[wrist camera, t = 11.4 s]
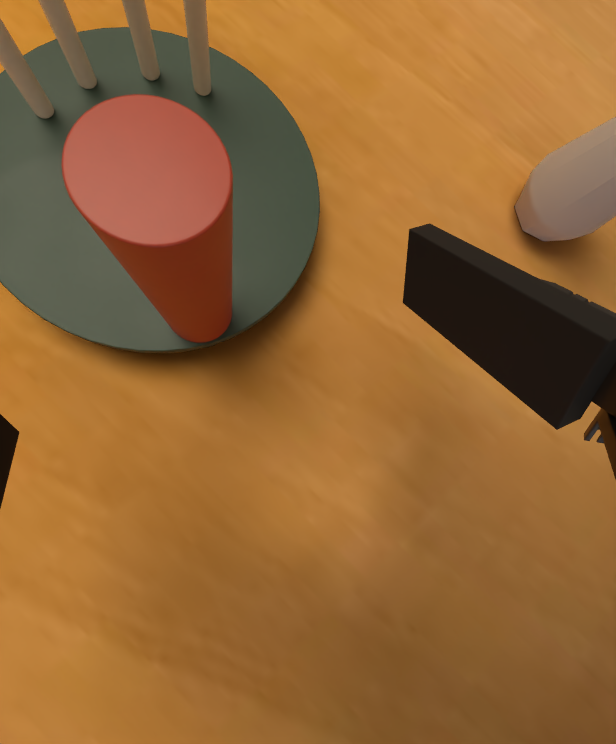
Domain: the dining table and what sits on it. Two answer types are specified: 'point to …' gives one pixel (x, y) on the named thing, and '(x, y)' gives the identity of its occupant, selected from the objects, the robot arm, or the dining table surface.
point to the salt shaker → (572, 188)
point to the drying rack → (148, 185)
